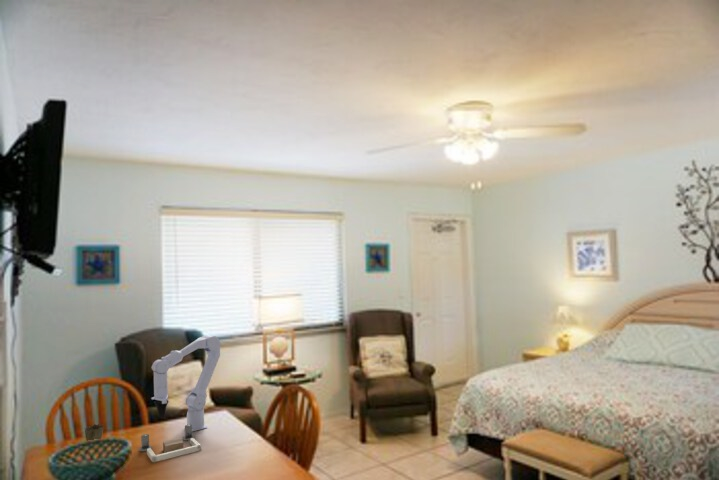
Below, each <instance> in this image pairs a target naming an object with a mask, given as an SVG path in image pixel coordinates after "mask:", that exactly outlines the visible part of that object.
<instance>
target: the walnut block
mask: <svg viewBox="0 0 719 480" xmlns="http://www.w3.org/2000/svg"><path fill="white" fill-rule="evenodd" d="M162 447H163V448H162V451H163V453H167V452H171V451H175V450H179V449H183V448H184V441H183V438H181V437H176V438H172V439H167V440H163V441H162Z"/></svg>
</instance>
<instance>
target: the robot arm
mask: <svg viewBox="0 0 719 480" xmlns="http://www.w3.org/2000/svg"><path fill="white" fill-rule="evenodd" d="M199 349H204V351H205V352H206V354H207V358H206V360H205V363H204V365H203V367H202V370H201V372H200V375H199V377H198V380H197V381H196V385H195V387H194V388H193V389H192V390H191V391H190V393H189V394H188V395H187V397H186V398H185V404H186V406H187V407H188V408H187V413H186V425H189V424H191V425H192V432H195V431H200V430H205V429H208V426H207V425H205V410H204V409H205V407H206V403H207V401H206V400H207V395H208V394H207V389H208V387H209V384H210V381H211V379H212V377H213V374H214V371H215V369H216V367H217V364H218V362H219V359H220V357H221V341H220V339H219V338H218V337H217V336H215V335H209V334H204V335H202V336H200V337H198V338H197V339H195V340H194V341H192V342H191V343H189V344H188V345H186V346H185V347H183V348H182V349H180V350H176V349H175V350H171V351H170V353H169V354H167V355H165V356H162V357H161V359H156V360H155V361H153V363H152V365H151V370H152V371H153V395H154V396H153V397H150V399H151V400H152V401H153V400H154V401H153V403H154V405H155V407H156V408H155V409H156V410H157V411H156V413H157V414H158V418H162V417H165V415H166V410H167V406H168V404H169V400H168V398H169V395H168V391H169V390H168V389H169V388H168V371H169V369H170V368H172V367H174V366H175V365H176V364H179V363H180V362H182V360H183V358H184V357H185V356H187V355H189V354H190V353H192V352H195V351H196V350H199Z"/></svg>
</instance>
